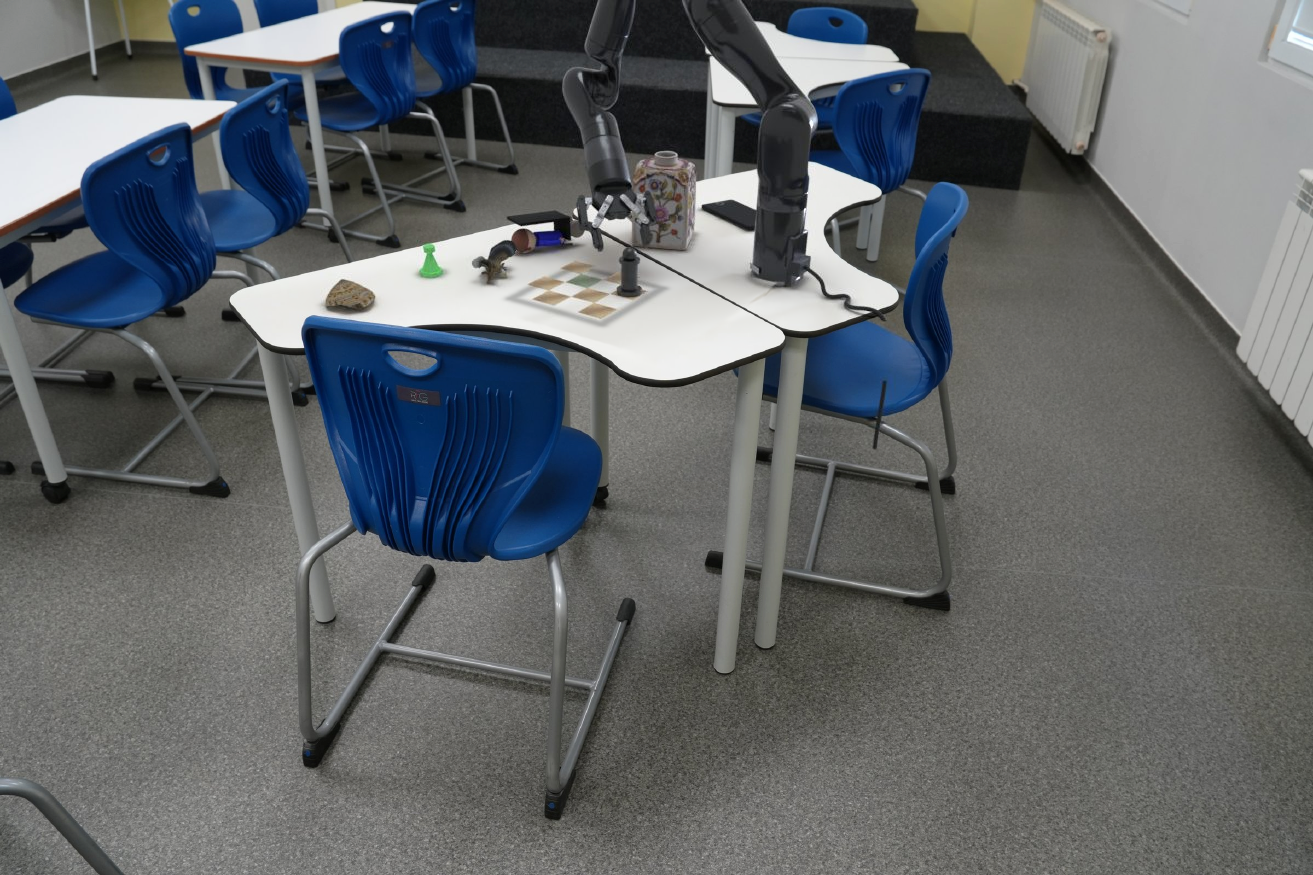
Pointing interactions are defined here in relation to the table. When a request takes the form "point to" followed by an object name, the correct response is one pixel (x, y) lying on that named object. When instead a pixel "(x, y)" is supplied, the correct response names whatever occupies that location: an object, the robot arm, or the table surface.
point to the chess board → (586, 294)
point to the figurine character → (529, 239)
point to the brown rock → (349, 295)
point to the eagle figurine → (496, 259)
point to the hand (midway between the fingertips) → (624, 248)
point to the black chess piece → (629, 274)
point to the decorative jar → (667, 199)
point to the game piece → (430, 263)
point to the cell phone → (733, 213)
